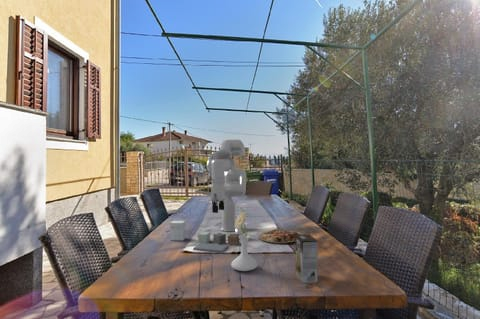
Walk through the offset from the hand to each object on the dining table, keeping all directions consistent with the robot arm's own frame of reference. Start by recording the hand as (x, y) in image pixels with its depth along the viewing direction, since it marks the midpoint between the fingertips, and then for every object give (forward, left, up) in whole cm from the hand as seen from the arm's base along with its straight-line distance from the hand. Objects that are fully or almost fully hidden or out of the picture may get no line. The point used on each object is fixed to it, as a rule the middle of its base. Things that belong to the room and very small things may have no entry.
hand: (218, 211), depth 160 cm
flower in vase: (+34, +25, -18) cm, 46 cm away
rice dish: (-19, +33, -19) cm, 42 cm away
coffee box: (+36, +51, -18) cm, 65 cm away
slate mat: (+11, 0, -18) cm, 21 cm away
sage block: (0, -9, -18) cm, 20 cm away
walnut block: (0, +9, -18) cm, 20 cm away
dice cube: (0, +1, -18) cm, 18 cm away
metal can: (-11, +9, -18) cm, 23 cm away
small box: (0, -26, -18) cm, 32 cm away
